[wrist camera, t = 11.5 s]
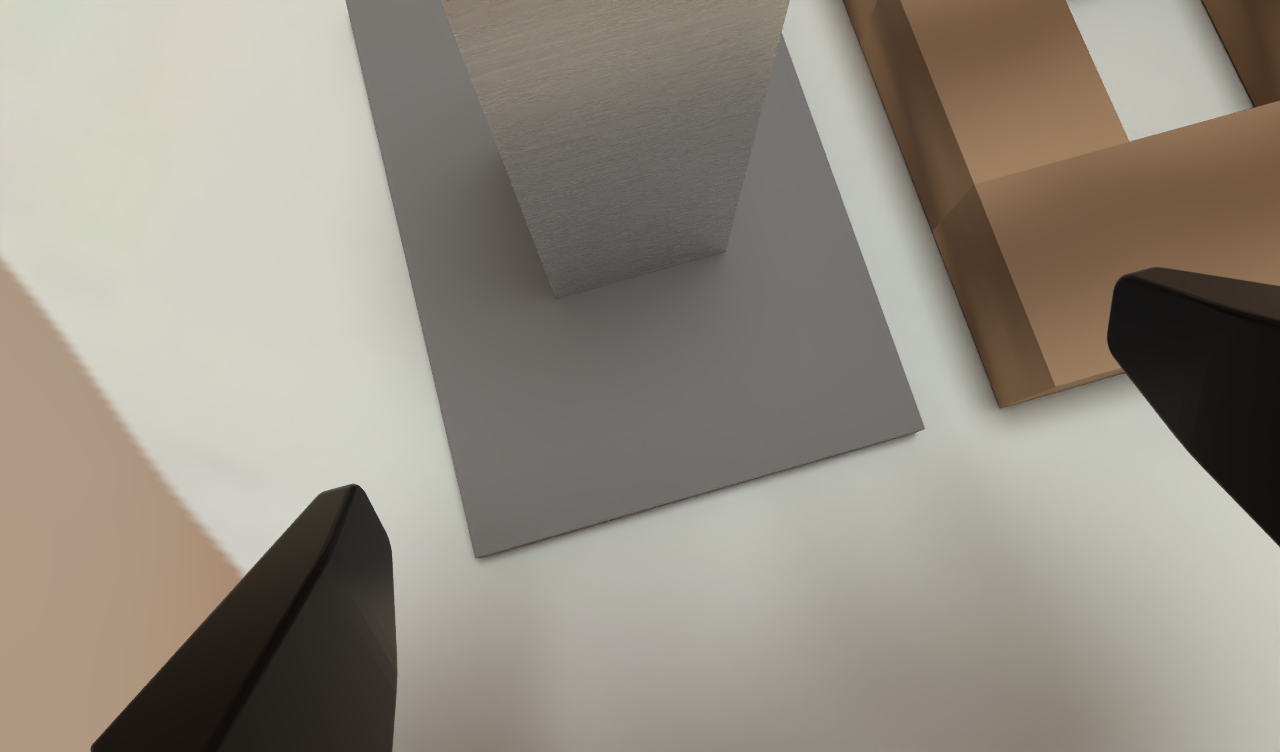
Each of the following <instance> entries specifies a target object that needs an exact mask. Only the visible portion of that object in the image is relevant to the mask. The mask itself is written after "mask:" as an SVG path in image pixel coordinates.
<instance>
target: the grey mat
mask: <svg viewBox="0 0 1280 752" xmlns="http://www.w3.org/2000/svg"><path fill="white" fill-rule="evenodd" d="M346 4H347V9H348V13H349V17H350V21H351V26H352V30H353V34H354V39H355V43H356V47H357V51H358V56H359V60H360V64H361V69H362V73H363V77H364V82H365V86H366V90H367V94H368V99H369V103H370V107H371V112H372V116H373V120H374V125H375V129H376V133H377V137H378V142H379V146H380V150H381V155H382V159H383V163H384V167H385V172H386V176H387V180H388V185H389V189H390V193H391V198H392V202H393V206H394V210H395V215H396V219H397V223H398V228H399V232H400V236H401V241H402V245H403V249H404V253H405V258H406V262H407V266H408V271H409V275H410V279H411V283H412V288H413V292H414V296H415V301H416V305H417V309H418V314H419V318H420V322H421V326H422V331H423V335H424V339H425V344H426V348H427V352H428V356H429V361H430V365H431V369H432V374H433V378H434V382H435V387H436V391H437V395H438V399H439V404H440V408H441V412H442V417H443V421H444V425H445V430H446V434H447V438H448V442H449V447H450V451H451V455H452V460H453V464H454V468H455V472H456V477H457V481H458V485H459V490H460V494H461V498H462V503H463V507H464V511H465V515H466V520H467V524H468V528H469V533H470V537H471V541H472V546H473V550H474V554H475V558H481V557H485V556H488V555H492V554H495V553H499V552H502V551H506V550H509V549H512V548H516V547H519V546H523V545H526V544H530V543H533V542H537V541H540V540H544V539H547V538H551V537H554V536H558V535H561V534H565V533H568V532H572V531H575V530H579V529H582V528H586V527H589V526H593V525H596V524H600V523H603V522H606V521H610V520H613V519H617V518H620V517H624V516H627V515H631V514H634V513H638V512H641V511H645V510H648V509H652V508H655V507H659V506H662V505H666V504H669V503H673V502H676V501H680V500H683V499H687V498H690V497H694V496H697V495H700V494H704V493H707V492H711V491H714V490H718V489H721V488H725V487H728V486H732V485H735V484H739V483H742V482H746V481H749V480H753V479H756V478H760V477H763V476H767V475H770V474H774V473H777V472H781V471H784V470H788V469H791V468H794V467H798V466H801V465H805V464H808V463H812V462H815V461H819V460H822V459H826V458H829V457H833V456H836V455H840V454H843V453H847V452H850V451H854V450H857V449H861V448H864V447H868V446H871V445H875V444H878V443H882V442H885V441H888V440H892V439H895V438H899V437H902V436H906V435H909V434H913V433H916V432H919V431H921V430H923V429H925V428H924V425H923V422H922V419H921V417H920V414H919V411H918V408H917V405H916V403H915V400H914V397H913V394H912V392H911V389H910V386H909V383H908V381H907V378H906V375H905V372H904V370H903V367H902V364H901V361H900V358H899V356H898V353H897V350H896V347H895V345H894V342H893V339H892V336H891V334H890V331H889V328H888V325H887V323H886V320H885V317H884V314H883V312H882V309H881V306H880V303H879V300H878V298H877V295H876V292H875V289H874V287H873V284H872V281H871V278H870V276H869V273H868V270H867V267H866V265H865V262H864V259H863V256H862V254H861V251H860V248H859V245H858V242H857V240H856V237H855V234H854V231H853V229H852V226H851V223H850V220H849V218H848V215H847V212H846V209H845V207H844V204H843V201H842V198H841V196H840V193H839V190H838V187H837V184H836V182H835V179H834V176H833V173H832V171H831V168H830V165H829V162H828V160H827V157H826V154H825V151H824V149H823V146H822V143H821V140H820V138H819V135H818V132H817V129H816V126H815V124H814V121H813V118H812V115H811V113H810V110H809V107H808V104H807V102H806V99H805V96H804V93H803V91H802V88H801V85H800V82H799V79H798V77H797V74H796V71H795V68H794V66H793V63H792V60H791V57H790V55H789V52H788V49H787V46H786V44H785V41H784V38H783V35H782V33H781V36H780V40H779V44H778V48H777V52H776V56H775V60H774V64H773V68H772V72H771V76H770V80H769V84H768V88H767V92H766V95H765V99H764V103H763V107H762V111H761V115H760V119H759V123H758V127H757V131H756V135H755V139H754V143H753V147H752V151H751V155H750V159H749V163H748V166H747V170H746V174H745V178H744V182H743V186H742V190H741V194H740V198H739V202H738V206H737V210H736V214H735V218H734V222H733V226H732V230H731V234H730V237H729V241H728V245H727V249H726V252H723V253H720V254H716V255H713V256H709V257H706V258H702V259H699V260H695V261H691V262H688V263H684V264H681V265H677V266H674V267H670V268H667V269H663V270H660V271H656V272H652V273H649V274H645V275H642V276H638V277H635V278H631V279H628V280H624V281H620V282H617V283H613V284H610V285H606V286H603V287H599V288H596V289H592V290H589V291H585V292H581V293H578V294H574V295H571V296H567V297H564V298H560V299H557V300H556V298H555V295H554V293H553V290H552V288H551V285H550V282H549V280H548V277H547V275H546V272H545V269H544V267H543V264H542V262H541V259H540V256H539V254H538V251H537V249H536V246H535V244H534V241H533V238H532V236H531V233H530V231H529V228H528V225H527V223H526V220H525V218H524V215H523V212H522V210H521V207H520V205H519V202H518V200H517V197H516V194H515V192H514V189H513V187H512V184H511V181H510V179H509V176H508V174H507V171H506V169H505V166H504V163H503V161H502V158H501V156H500V153H499V150H498V148H497V145H496V143H495V140H494V137H493V135H492V132H491V130H490V127H489V125H488V122H487V119H486V117H485V114H484V112H483V109H482V106H481V104H480V101H479V99H478V96H477V93H476V91H475V88H474V86H473V83H472V81H471V78H470V75H469V73H468V70H467V68H466V65H465V62H464V60H463V57H462V55H461V52H460V49H459V47H458V44H457V42H456V39H455V37H454V34H453V31H452V29H451V26H450V24H449V21H448V18H447V16H446V13H445V11H444V8H443V5H442V3H441V0H346Z"/></svg>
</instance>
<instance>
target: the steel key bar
mask: <svg viewBox="0 0 1280 752" xmlns="http://www.w3.org/2000/svg"><path fill="white" fill-rule="evenodd" d="M789 1H790V0H441V3H442V5H443V8H444V11H445V13H446V16H447V18H448V21H449V24H450V26H451V29H452V31H453V34H454V37H455V39H456V42H457V44H458V47H459V49H460V52H461V55H462V57H463V60H464V62H465V65H466V68H467V70H468V73H469V75H470V78H471V81H472V83H473V86H474V88H475V91H476V93H477V96H478V99H479V101H480V104H481V106H482V109H483V112H484V114H485V117H486V119H487V122H488V125H489V127H490V130H491V132H492V135H493V137H494V140H495V143H496V145H497V148H498V150H499V153H500V156H501V158H502V161H503V163H504V166H505V169H506V171H507V174H508V176H509V179H510V181H511V184H512V187H513V189H514V192H515V194H516V197H517V200H518V202H519V205H520V207H521V210H522V212H523V215H524V218H525V220H526V223H527V225H528V228H529V231H530V233H531V236H532V238H533V241H534V244H535V246H536V249H537V251H538V254H539V256H540V259H541V262H542V264H543V267H544V269H545V272H546V275H547V277H548V280H549V282H550V285H551V288H552V290H553V293H554V295H555V298H556V300H557V299H560V298H564V297H567V296H571V295H574V294H578V293H581V292H585V291H589V290H592V289H596V288H599V287H603V286H606V285H610V284H613V283H617V282H620V281H624V280H628V279H631V278H635V277H638V276H642V275H645V274H649V273H652V272H656V271H660V270H663V269H667V268H670V267H674V266H677V265H681V264H684V263H688V262H691V261H695V260H699V259H702V258H706V257H709V256H713V255H716V254H720V253H723V252H726V249H727V245H728V241H729V237H730V234H731V230H732V226H733V222H734V218H735V214H736V210H737V206H738V202H739V198H740V194H741V190H742V186H743V182H744V178H745V174H746V170H747V166H748V163H749V159H750V155H751V151H752V147H753V143H754V139H755V135H756V131H757V127H758V123H759V119H760V115H761V111H762V107H763V103H764V99H765V95H766V92H767V88H768V84H769V80H770V76H771V72H772V68H773V64H774V60H775V56H776V52H777V48H778V44H779V40H780V36H781V32H782V28H783V24H784V21H785V17H786V13H787V9H788V5H789Z"/></svg>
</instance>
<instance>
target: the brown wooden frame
mask: <svg viewBox="0 0 1280 752" xmlns="http://www.w3.org/2000/svg"><path fill="white" fill-rule="evenodd" d="M843 1H844V3H845V6H846V8H847V11H848V14H849V16H850V19H851V21H852V24H853V27H854V29H855V32H856V34H857V37H858V40H859V42H860V45H861V47H862V50H863V53H864V55H865V58H866V60H867V63H868V66H869V68H870V71H871V73H872V76H873V79H874V81H875V84H876V86H877V89H878V92H879V94H880V97H881V99H882V102H883V105H884V107H885V110H886V112H887V115H888V118H889V120H890V123H891V125H892V128H893V131H894V133H895V136H896V138H897V141H898V144H899V146H900V149H901V151H902V154H903V157H904V159H905V162H906V164H907V167H908V170H909V172H910V175H911V177H912V180H913V183H914V185H915V188H916V190H917V193H918V196H919V198H920V201H921V203H922V206H923V209H924V211H925V214H926V216H927V219H928V222H929V224H930V227H931V229H932V232H933V235H934V237H935V240H936V242H937V245H938V248H939V250H940V253H941V256H942V258H943V261H944V263H945V266H946V269H947V271H948V274H949V276H950V279H951V282H952V284H953V287H954V289H955V292H956V295H957V297H958V300H959V302H960V305H961V308H962V310H963V313H964V315H965V318H966V321H967V323H968V326H969V328H970V331H971V334H972V336H973V339H974V341H975V344H976V347H977V349H978V352H979V354H980V357H981V360H982V362H983V365H984V367H985V370H986V373H987V375H988V378H989V380H990V383H991V386H992V388H993V391H994V393H995V396H996V399H997V401H998V404H999V406H1000V408H1003V407H1007V406H1010V405H1014V404H1017V403H1021V402H1024V401H1028V400H1031V399H1035V398H1038V397H1042V396H1045V395H1049V394H1052V393H1056V392H1059V391H1063V390H1066V389H1070V388H1073V387H1076V386H1080V385H1083V384H1087V383H1090V382H1094V381H1097V380H1101V379H1104V378H1108V377H1111V376H1115V375H1118V374H1122V373H1125V372H1124V370H1123V369H1122V368H1121V367H1120V365H1119V364H1118V363H1117V362H1116V360H1115V359H1114V358H1113V356H1112V354H1111V352H1110V350H1109V348H1108V344H1107V329H1108V322H1109V315H1110V309H1111V302H1112V295H1113V289H1114V285H1115V284H1116V282H1117V280H1118V279H1119V278H1120V277H1122V276H1123V275H1125V274H1129V273H1132V272H1136V271H1140V270H1143V269H1147V268H1150V267H1163V268H1170V269H1176V270H1182V271H1189V272H1195V273H1201V274H1207V275H1214V276H1220V277H1226V278H1233V279H1239V280H1245V281H1252V282H1258V283H1264V284H1270V285H1277V286H1280V0H1203V2H1204V4H1205V6H1206V8H1207V10H1208V13H1209V15H1210V17H1211V19H1212V21H1213V23H1214V25H1215V27H1216V29H1217V31H1218V33H1219V35H1220V37H1221V39H1222V41H1223V43H1224V45H1225V47H1226V49H1227V51H1228V53H1229V55H1230V57H1231V59H1232V61H1233V63H1234V65H1235V67H1236V69H1237V71H1238V73H1239V75H1240V77H1241V79H1242V81H1243V83H1244V85H1245V87H1246V89H1247V92H1248V94H1249V96H1250V98H1251V100H1252V102H1253V104H1254V106H1255V108H1251V109H1248V110H1244V111H1240V112H1237V113H1233V114H1229V115H1226V116H1222V117H1218V118H1215V119H1211V120H1207V121H1204V122H1200V123H1196V124H1193V125H1189V126H1185V127H1182V128H1178V129H1174V130H1171V131H1167V132H1164V133H1160V134H1156V135H1153V136H1149V137H1145V138H1142V139H1138V140H1134V141H1131V142H1129V140H1128V138H1127V136H1126V133H1125V131H1124V129H1123V127H1122V124H1121V122H1120V120H1119V118H1118V116H1117V113H1116V111H1115V109H1114V107H1113V105H1112V102H1111V100H1110V98H1109V96H1108V93H1107V91H1106V89H1105V87H1104V85H1103V82H1102V80H1101V78H1100V76H1099V74H1098V71H1097V69H1096V67H1095V65H1094V63H1093V60H1092V58H1091V56H1090V54H1089V51H1088V49H1087V47H1086V45H1085V43H1084V40H1083V38H1082V36H1081V34H1080V32H1079V29H1078V27H1077V25H1076V23H1075V20H1074V18H1073V16H1072V14H1071V12H1070V9H1069V7H1068V5H1067V3H1066V1H1065V0H843Z"/></svg>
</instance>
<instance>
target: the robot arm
mask: <svg viewBox="0 0 1280 752" xmlns="http://www.w3.org/2000/svg"><path fill="white" fill-rule="evenodd" d="M1107 344H1108V348H1109V350H1110V352H1111V354H1112V356H1113V358H1114V359H1115V360H1116V362H1117V363H1118V364H1119V365H1120V367H1121V368H1122V369H1123V370H1124V372H1125V373H1126V374H1127V376H1128V377H1129V378H1130V379H1131V381H1132V382H1133V383H1134V384H1135V386H1136V387H1137V388H1138V390H1139V391H1140V392H1141V393H1142V395H1143V396H1144V397H1145V398H1146V400H1147V401H1148V402H1149V404H1150V405H1151V406H1152V407H1153V409H1154V410H1155V411H1156V413H1157V414H1158V415H1159V416H1160V418H1161V419H1162V420H1163V421H1164V423H1165V424H1166V425H1167V427H1168V428H1169V429H1170V430H1171V432H1172V433H1173V434H1174V435H1175V437H1176V438H1177V439H1178V440H1179V441H1180V443H1181V444H1182V445H1183V446H1184V447H1185V449H1186V450H1187V451H1188V452H1189V453H1190V454H1191V455H1192V457H1193V458H1194V459H1195V460H1196V461H1197V462H1198V463H1199V464H1200V465H1201V466H1202V467H1203V468H1204V469H1205V470H1206V472H1207V473H1208V474H1209V475H1210V476H1211V477H1212V478H1213V479H1214V480H1215V481H1216V482H1217V483H1218V484H1219V485H1220V486H1221V487H1222V488H1223V489H1224V490H1225V491H1226V492H1227V493H1228V494H1229V495H1230V496H1231V497H1232V498H1233V499H1234V500H1235V501H1236V502H1237V503H1238V504H1239V505H1240V507H1241V508H1242V509H1243V510H1244V511H1245V512H1246V513H1247V514H1248V515H1249V516H1250V517H1251V518H1252V519H1253V520H1254V521H1255V522H1256V523H1257V524H1258V525H1259V526H1260V527H1261V528H1262V529H1263V530H1264V531H1265V532H1266V533H1267V534H1268V535H1269V536H1270V537H1271V538H1272V539H1273V541H1274V542H1275V543H1276V544H1277V545H1278V546H1279V547H1280V286H1277V285H1270V284H1264V283H1258V282H1252V281H1245V280H1239V279H1233V278H1226V277H1220V276H1214V275H1207V274H1201V273H1195V272H1189V271H1182V270H1176V269H1170V268H1163V267H1150V268H1147V269H1143V270H1140V271H1136V272H1132V273H1129V274H1125V275H1123V276H1122V277H1120V278H1119V279H1118V280H1117V282H1116V284H1115V285H1114V289H1113V295H1112V302H1111V309H1110V315H1109V322H1108V329H1107ZM396 693H397V645H396V625H395V604H394V584H393V563H392V550H391V545H390V541H389V538H388V536H387V533H386V531H385V529H384V527H383V526H382V524H381V522H380V520H379V518H378V516H377V514H376V512H375V510H374V508H373V506H372V505H371V503H370V501H369V499H368V497H367V495H366V493H365V492H364V490H363V489H362V488H361V487H360V486H358V485H356V484H350V485H346V486H342V487H338V488H335V489H331V490H327V491H324V492H322V493H320V494H319V495H318V496H317V497H316V498H315V499H314V500H313V501H312V502H311V503H310V505H309V506H308V507H307V508H306V509H305V510H304V511H303V512H302V513H301V515H300V516H299V517H298V518H297V519H296V520H295V521H294V522H293V523H292V524H291V526H290V527H289V528H288V529H287V530H286V531H285V532H284V533H283V534H282V536H281V537H280V538H279V539H278V540H277V541H276V542H275V543H274V544H273V546H272V547H271V548H270V549H269V550H268V551H267V552H266V553H265V554H264V555H263V557H262V558H261V559H260V560H259V561H258V562H257V563H256V564H255V565H254V567H253V568H252V569H251V570H250V571H249V572H248V573H247V574H246V575H245V576H244V578H243V579H242V580H241V581H240V582H239V583H238V584H237V585H236V586H235V588H234V589H233V590H232V591H231V592H230V593H229V594H228V595H227V596H226V598H225V599H224V600H223V601H222V602H221V603H220V604H219V605H218V606H217V607H216V609H215V610H214V611H213V612H212V613H211V614H210V615H209V616H208V617H207V618H206V620H205V621H204V622H203V623H202V624H201V625H200V626H199V627H198V629H197V630H196V631H195V632H194V633H193V634H192V635H191V636H190V637H189V638H188V639H187V641H186V642H185V643H184V644H183V645H182V646H181V647H180V648H179V649H178V651H177V652H176V653H175V654H174V655H173V656H172V657H171V658H170V659H169V660H168V662H167V663H166V664H165V665H164V666H163V667H162V668H161V670H159V671H158V673H157V674H156V675H155V676H154V677H153V678H152V679H151V680H150V682H149V683H148V684H147V685H146V686H145V687H144V688H143V689H142V690H141V691H140V693H139V694H138V695H137V696H136V697H135V698H134V699H133V700H132V701H131V703H129V705H128V706H127V707H126V708H125V709H124V710H123V711H122V712H121V713H120V715H119V716H118V717H117V718H116V719H115V720H114V721H113V722H112V723H111V725H110V726H109V727H108V728H107V729H106V730H105V731H104V732H103V733H102V735H101V736H100V737H99V738H98V739H97V740H96V741H95V742H94V743H93V745H92V746H91V752H392V747H393V734H394V721H395V707H396Z"/></svg>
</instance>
